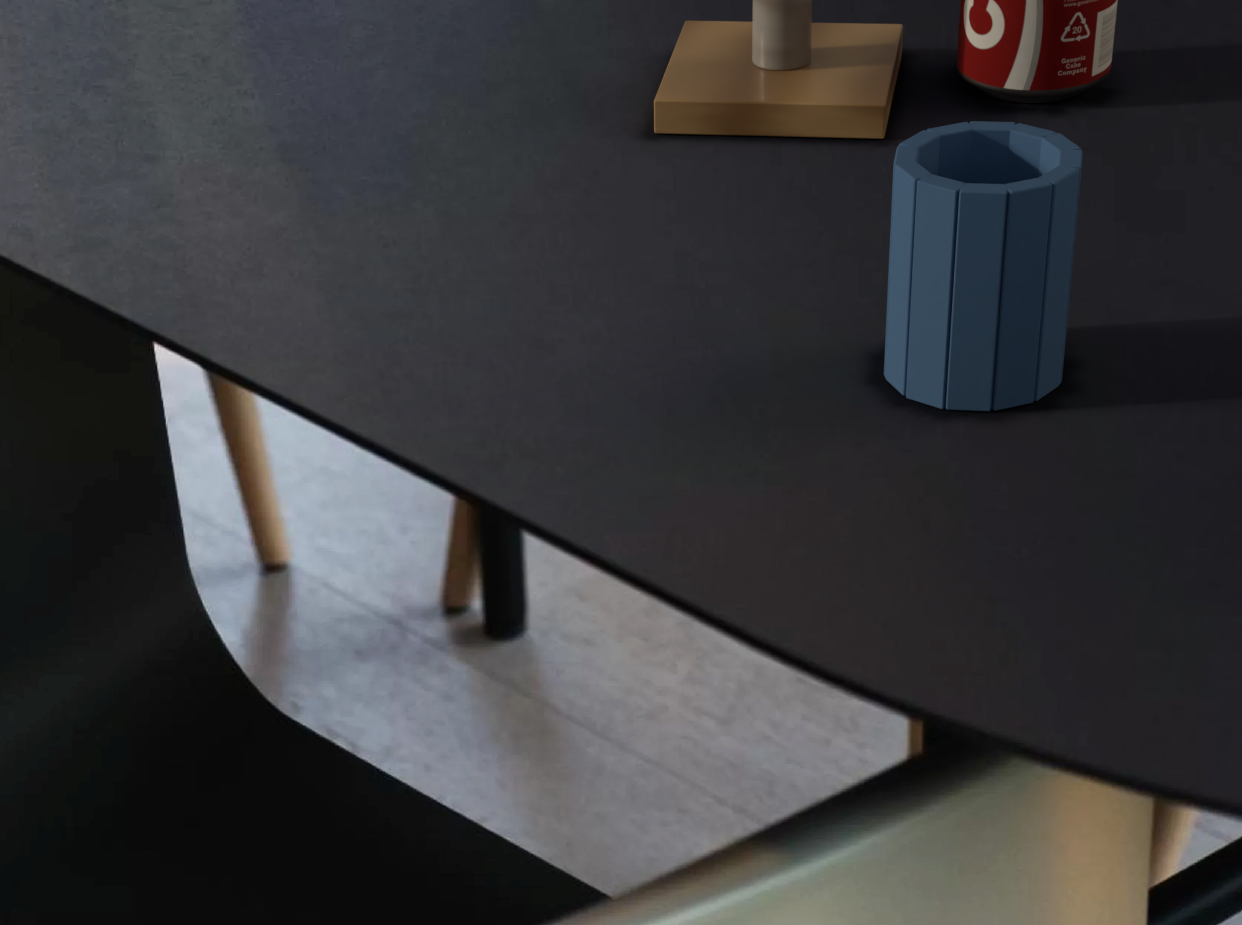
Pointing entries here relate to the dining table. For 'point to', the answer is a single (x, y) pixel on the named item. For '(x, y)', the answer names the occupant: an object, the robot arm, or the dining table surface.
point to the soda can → (1035, 47)
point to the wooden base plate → (780, 76)
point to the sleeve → (980, 264)
